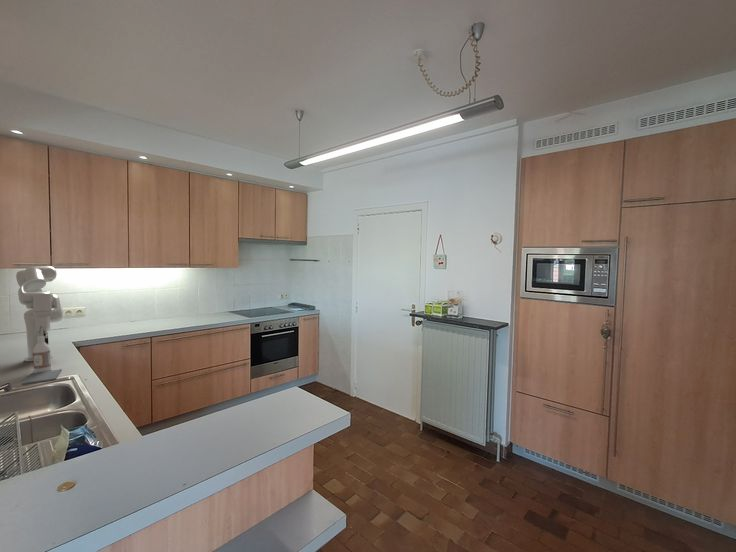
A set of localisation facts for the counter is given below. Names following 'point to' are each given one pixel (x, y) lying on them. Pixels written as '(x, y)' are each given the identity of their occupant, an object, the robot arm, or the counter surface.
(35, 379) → the mat
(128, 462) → the counter surface
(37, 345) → the bath foam
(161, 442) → the counter surface
